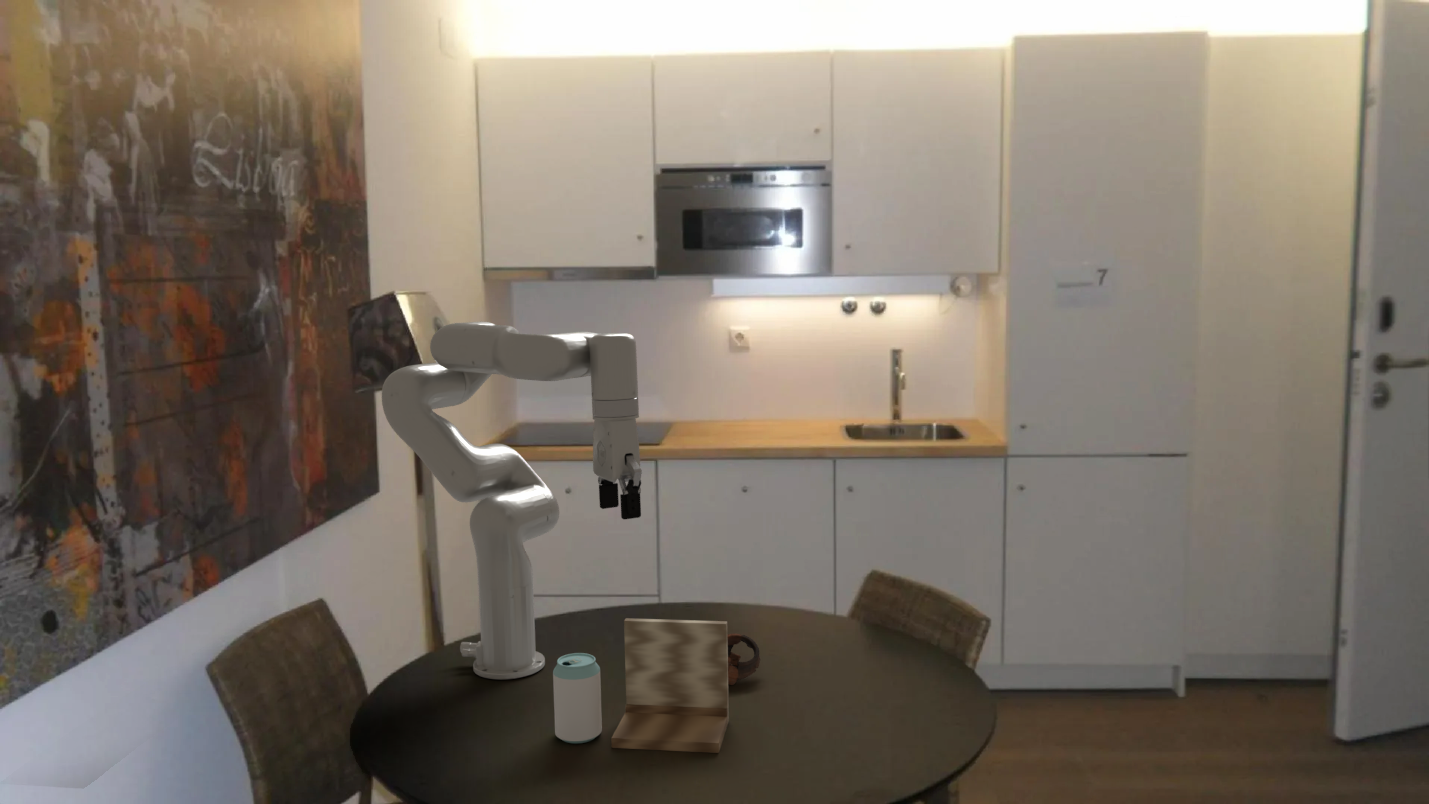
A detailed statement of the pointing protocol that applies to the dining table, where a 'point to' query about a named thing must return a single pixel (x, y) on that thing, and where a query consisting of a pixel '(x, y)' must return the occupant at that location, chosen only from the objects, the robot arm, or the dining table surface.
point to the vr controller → (742, 667)
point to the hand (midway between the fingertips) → (620, 512)
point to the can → (577, 698)
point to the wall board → (674, 685)
